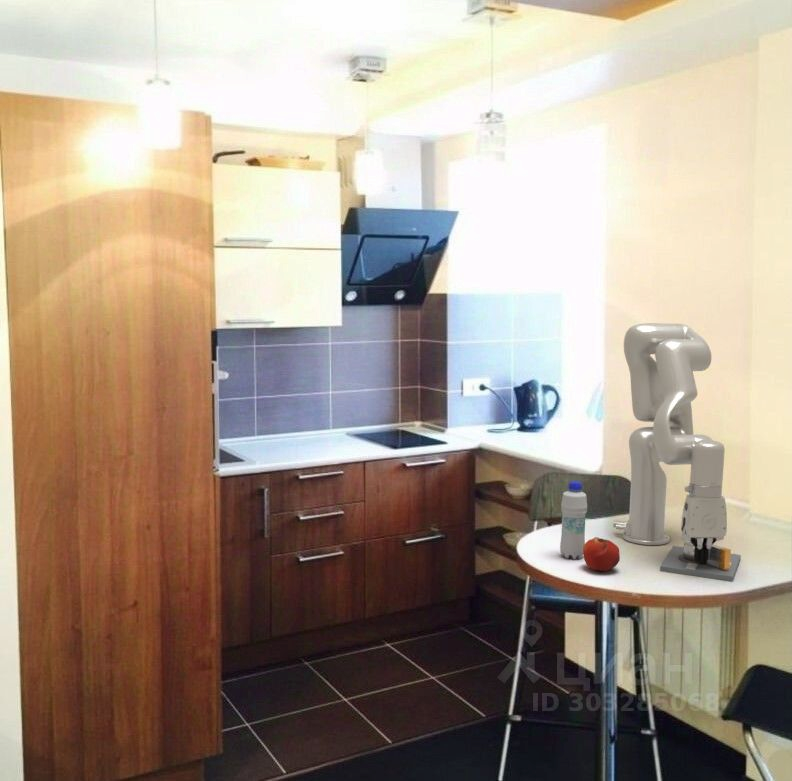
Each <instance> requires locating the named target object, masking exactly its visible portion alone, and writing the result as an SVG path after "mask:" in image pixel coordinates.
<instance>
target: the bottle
mask: <svg viewBox="0 0 792 781" xmlns="http://www.w3.org/2000/svg"><path fill="white" fill-rule="evenodd" d="M582 489H583V483H581V482H580V481H577V480H571V481H570V482H569V484H568V490H566V491H564V492H563V494H562V499H561V503H560V504H561V505H560V507H561V509H560V510H561V514H562V515H561V536H560V544H559V545H560V547H559V549H560V550H559V551H560V555H561V556H562V558H563V557H564V558H566V559H570V556H572V557H571V558H572V560H576V559H579V560H580V559H581V558H583V557H584V555H583V546H584V544H585V543H586V541H585V540H586V538H585V535H586V534H585V533H586V531H585V530H586V514H587V512H588V500H587V494H586V493H585V492H584V491H582Z"/></svg>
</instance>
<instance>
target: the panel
mask: <svg viewBox="0 0 792 781" xmlns="http://www.w3.org/2000/svg"><path fill="white" fill-rule="evenodd" d="M683 551H684V546H678V545H672V547H671V549H670V550H669V551H668V553H667V555H666V556H665V558H664V560H663V561H662V563H661V565H660V568H659V571H660V572H664V571H666V573H671V572H672V573H673V574H678V575H684V576H685V575H686V576H692V577H700V578H706V579H711V580H712V579H713V580H720V581H727V582H733V581H734V578H735V575H736V573H737V570H738V568H739V565H740V561H741V558H742V557H741V556H742V555H741V554H738V553H737V554H735V553H731V555H730V569H727V570H723V569H720V568H717V567H714V566H712V565H709V564H707V565H704V564H703V565H700V564H698V563H697V562H693V561H688V560H686V559H684V558H683ZM672 573H671V574H672Z"/></svg>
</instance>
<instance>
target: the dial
mask: <svg viewBox="0 0 792 781" xmlns="http://www.w3.org/2000/svg"><path fill="white" fill-rule="evenodd" d="M683 547H684V551H683V558H684V559H686V560H688V561H693V562H696V561H695V559H694V550H695V546H694V545H693V544H692V543H691V542H688V541H684V543H683ZM731 552H732V549H731V548H727V547H723V546H719V545H717V544H715V543H714V544H713V545H712V546H711V548H710V549H709V555H708V560H707V564H709V565H712V566H714V567H717V568H720V569H723V570H727V569H730V555H731V554H732V553H731Z"/></svg>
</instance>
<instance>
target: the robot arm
mask: <svg viewBox="0 0 792 781" xmlns="http://www.w3.org/2000/svg"><path fill="white" fill-rule="evenodd" d="M623 352H624V357H625V361H626V363H627V366H628V370H629V376H630V391H631V392H630V394H631V395H630V396H631V406H632V413H633V416H634V418H635V419H636V420H637V421H639V422H644V423H653V426H645V427H640V428H637V429H635V430H633V431H632V432H631V434H630V436H629V439H628V447H629V448H628V449H629V455H630V494H629V495H630V496H629V514H628V517H629V518H628V520H625V521H620V520H613V522H612V523H613V525H612V526H613V528H615V529H616V530H623V533H622V539H624V540H626V541H627V542H628V543H629V542H630V543H633V544H636V545H643V546H644V545H645V546H661V545H666V544H668V543H669V542H670V536H669V535H668V534H667V533H665V520H666V518H665V517H666V496H667V475H666V473H665V471H664V469H663V468H662V467H661V465H660V462H661V463H664V464H666V465H670V466H674V465H675V466H678V465H679V466H680V465H681V466H682V465H690V477H689V479H690V480H689V483H688V486H687V485H686V486H684V492H685V493H688V494H686V496H685V501H684V504H683V508H682V515H681V522H680V528H681V529H680V531H681V536H680V539H681V540H683V541H684V542H691V543H692V544H693V545H694V546H695V550H694V559H695V561H696V562H697V563H698V564H700V565H703V564H704V565H707V560H708V555H709V549H710V548H711V546H712V545H713V544H714V545H715V543H716V542H719V541H722V540H724V539H725V536H727V532H728V531H727V530H728V516H727V503H726V497H724V496H722V492H723V479H724V478H723V476H724V464H725V463H724V462H725V452H726V451H725V446H724V444H723V443H722V442H720V441H717V440H713V439H712V438H711V437H710V436H709V435H705V434H694V425H693V410H692V408H693V407H692V403H691V402H693V401H694V400H695V399H696V398H697V397H698V390H697V389H698V388H697V385H696V380H695V375H694V372H704V371H706V370H708V369H709V367H710V366H711V363H712V352H711V349H710V346H709V344H708V343H707V341H705V339H704V338H703V337H702V336H701V335H699V333H697V332H696V330H695V331H694V329H692V328H691V327H690V326H688V325H687V324H684V323H683V324H682V323H661V322H660V323H658V322H657V323H654V322H653V323H650V322H649V323H646V322H645V323H639V324H635V325H632V326H630V327H629V328H628V329H627V331H626V332H625V335H624V339H623ZM651 355H654V356H655V359H654V358H653V357H652V356H651Z"/></svg>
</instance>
